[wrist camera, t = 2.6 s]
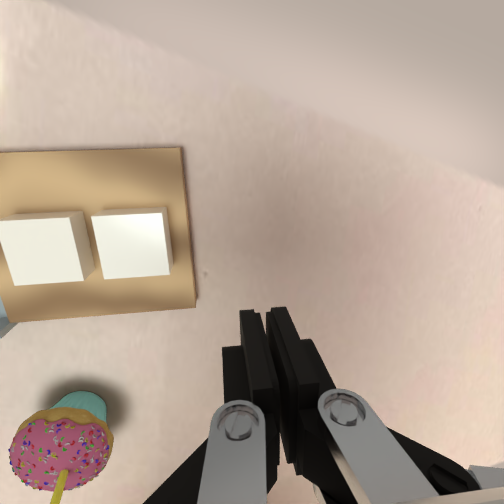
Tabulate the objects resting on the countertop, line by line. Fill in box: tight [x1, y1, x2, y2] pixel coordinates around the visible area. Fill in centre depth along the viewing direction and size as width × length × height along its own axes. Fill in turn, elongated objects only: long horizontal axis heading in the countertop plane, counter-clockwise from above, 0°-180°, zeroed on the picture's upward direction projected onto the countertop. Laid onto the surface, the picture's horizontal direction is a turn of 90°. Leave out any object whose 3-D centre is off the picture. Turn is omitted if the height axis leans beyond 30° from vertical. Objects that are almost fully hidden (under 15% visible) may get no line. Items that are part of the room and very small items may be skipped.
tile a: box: [91, 207, 173, 279], centre depth 24 cm, size 5×5×2 cm
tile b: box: [0, 211, 95, 286], centre depth 23 cm, size 5×5×2 cm
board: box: [0, 147, 196, 323], centre depth 26 cm, size 14×16×2 cm
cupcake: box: [8, 391, 114, 504], centre depth 27 cm, size 9×8×12 cm
